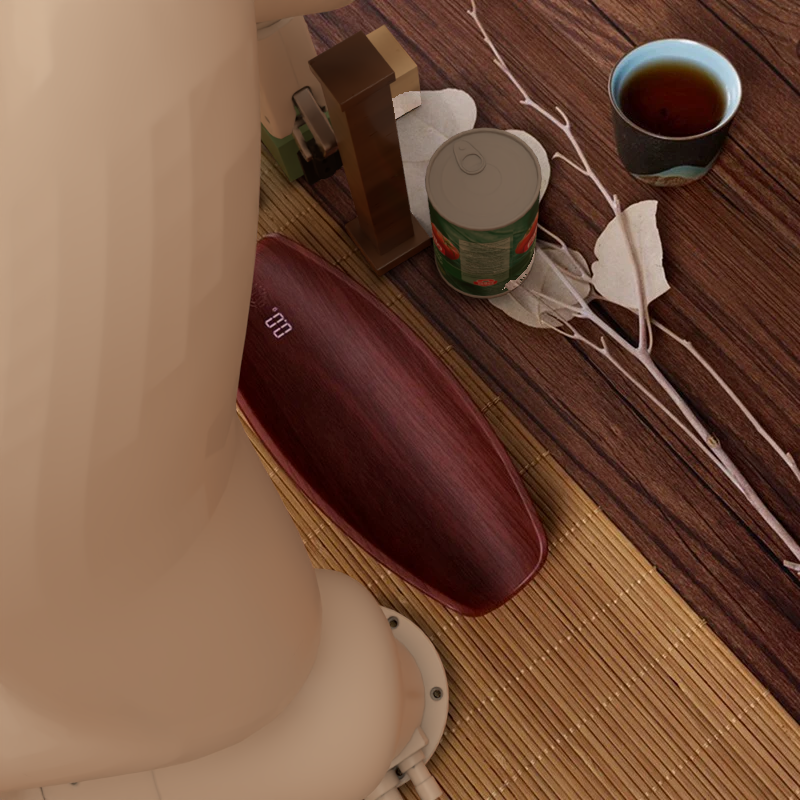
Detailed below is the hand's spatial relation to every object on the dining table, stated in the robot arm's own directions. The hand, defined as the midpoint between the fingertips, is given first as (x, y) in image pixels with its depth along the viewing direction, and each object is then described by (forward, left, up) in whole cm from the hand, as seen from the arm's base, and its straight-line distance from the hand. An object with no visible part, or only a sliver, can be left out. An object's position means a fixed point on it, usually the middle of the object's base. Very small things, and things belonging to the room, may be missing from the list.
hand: (294, 131), depth 75 cm
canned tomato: (-17, -7, -3) cm, 18 cm away
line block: (0, -8, -3) cm, 9 cm away
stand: (-11, -2, -3) cm, 12 cm away
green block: (0, 0, -3) cm, 3 cm away
